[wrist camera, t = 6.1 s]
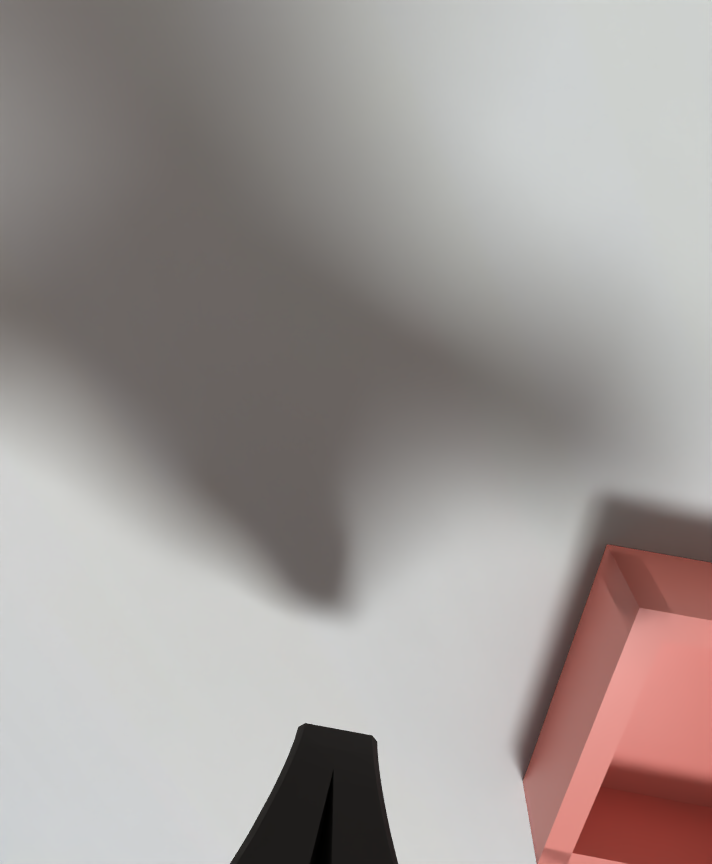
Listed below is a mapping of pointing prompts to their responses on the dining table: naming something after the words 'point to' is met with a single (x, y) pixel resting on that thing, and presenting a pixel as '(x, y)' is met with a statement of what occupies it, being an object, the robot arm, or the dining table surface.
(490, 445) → the dining table surface
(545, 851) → the tray
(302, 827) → the robot arm
